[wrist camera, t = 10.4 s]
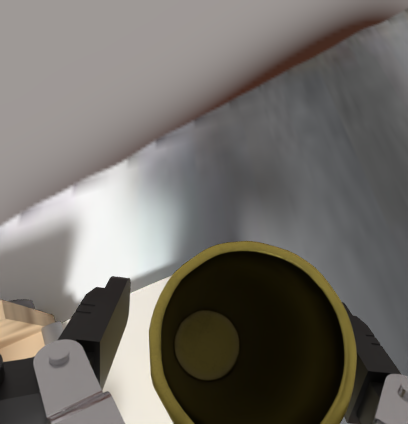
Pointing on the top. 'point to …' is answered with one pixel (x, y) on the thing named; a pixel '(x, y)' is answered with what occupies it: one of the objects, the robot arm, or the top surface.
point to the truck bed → (21, 329)
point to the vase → (251, 340)
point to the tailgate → (131, 361)
